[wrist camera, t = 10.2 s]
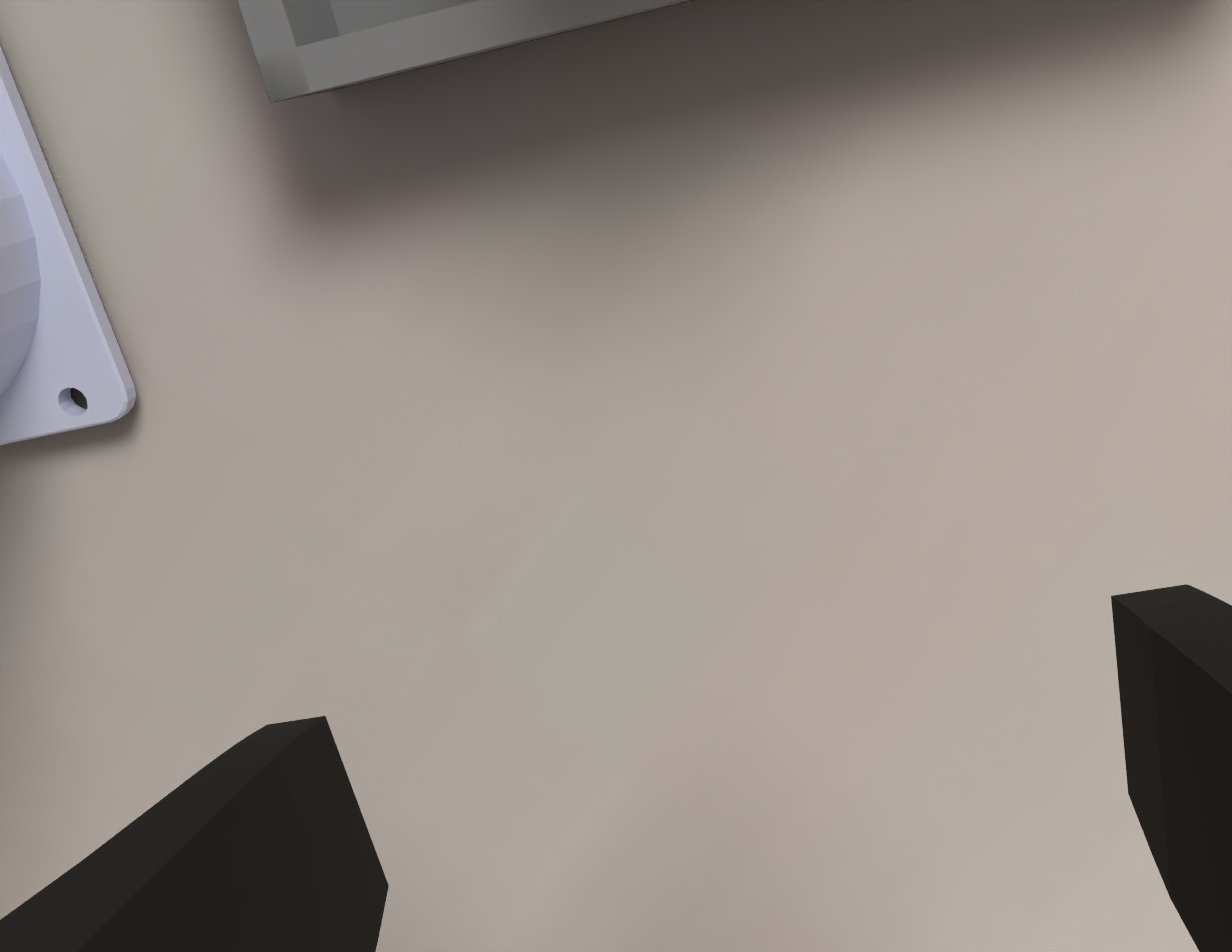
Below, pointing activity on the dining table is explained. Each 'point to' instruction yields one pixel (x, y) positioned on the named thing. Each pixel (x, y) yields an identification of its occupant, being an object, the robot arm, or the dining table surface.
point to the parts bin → (400, 34)
